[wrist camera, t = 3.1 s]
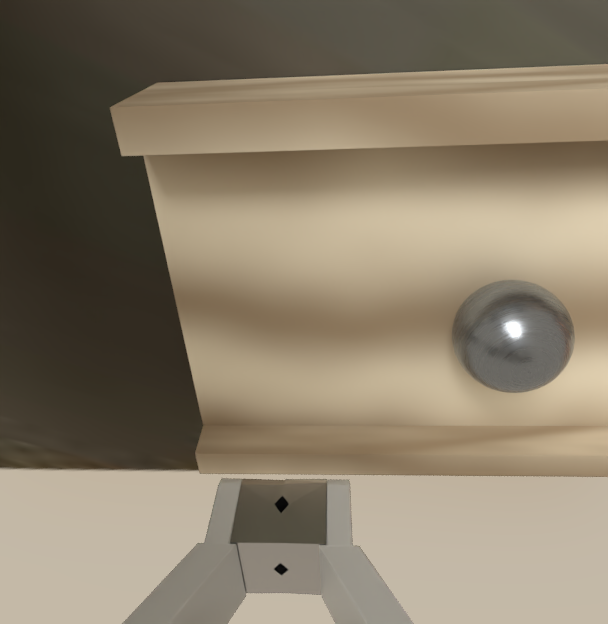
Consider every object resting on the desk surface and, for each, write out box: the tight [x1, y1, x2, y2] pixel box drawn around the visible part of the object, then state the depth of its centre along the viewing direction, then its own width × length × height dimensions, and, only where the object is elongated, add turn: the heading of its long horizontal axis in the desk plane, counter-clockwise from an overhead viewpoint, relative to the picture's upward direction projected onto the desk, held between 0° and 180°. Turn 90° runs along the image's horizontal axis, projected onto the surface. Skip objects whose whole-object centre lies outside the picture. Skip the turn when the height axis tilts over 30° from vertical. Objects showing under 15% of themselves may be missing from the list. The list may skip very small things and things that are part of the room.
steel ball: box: [452, 280, 575, 393], centre depth 15 cm, size 4×4×4 cm
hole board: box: [110, 64, 608, 477], centre depth 16 cm, size 14×25×6 cm, turn 92°
